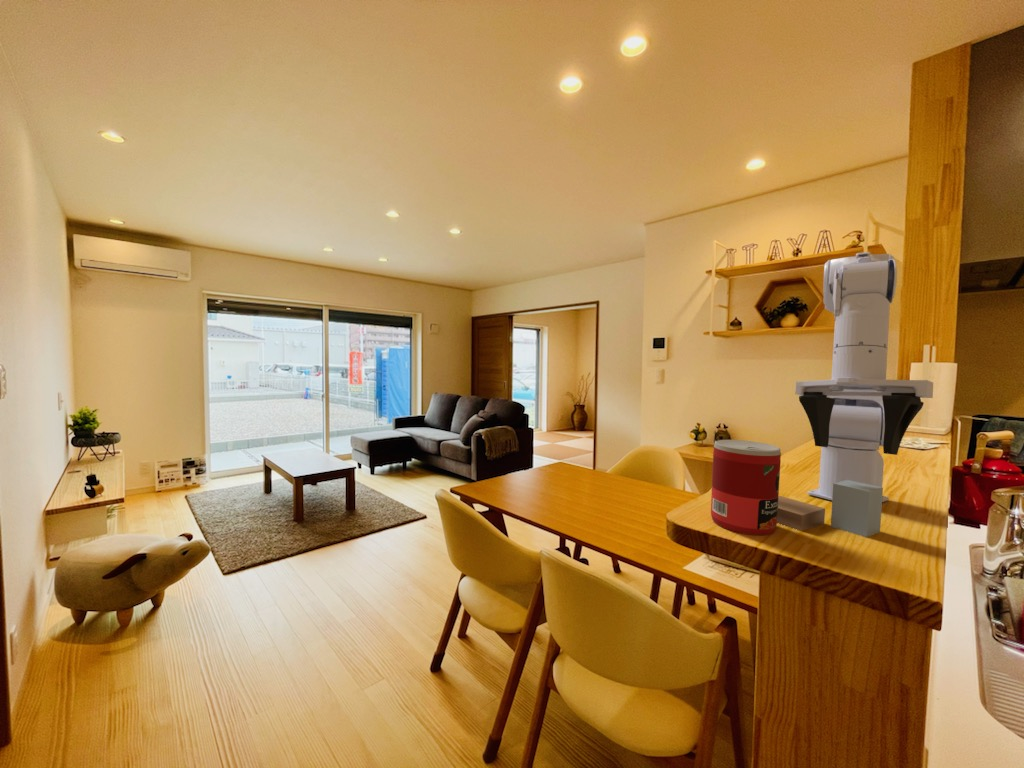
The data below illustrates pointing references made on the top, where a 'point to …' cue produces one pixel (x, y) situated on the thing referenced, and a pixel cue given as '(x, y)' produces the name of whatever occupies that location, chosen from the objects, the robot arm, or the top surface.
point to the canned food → (745, 486)
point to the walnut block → (799, 514)
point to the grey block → (856, 507)
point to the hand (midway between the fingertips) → (853, 450)
